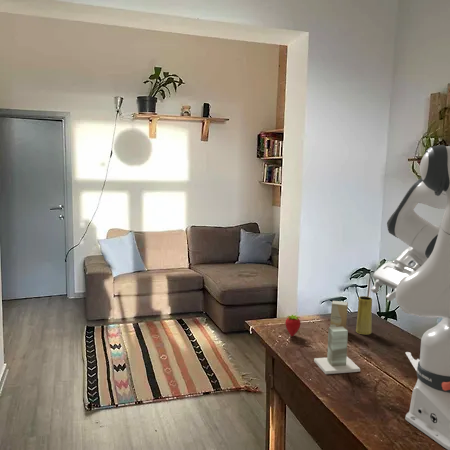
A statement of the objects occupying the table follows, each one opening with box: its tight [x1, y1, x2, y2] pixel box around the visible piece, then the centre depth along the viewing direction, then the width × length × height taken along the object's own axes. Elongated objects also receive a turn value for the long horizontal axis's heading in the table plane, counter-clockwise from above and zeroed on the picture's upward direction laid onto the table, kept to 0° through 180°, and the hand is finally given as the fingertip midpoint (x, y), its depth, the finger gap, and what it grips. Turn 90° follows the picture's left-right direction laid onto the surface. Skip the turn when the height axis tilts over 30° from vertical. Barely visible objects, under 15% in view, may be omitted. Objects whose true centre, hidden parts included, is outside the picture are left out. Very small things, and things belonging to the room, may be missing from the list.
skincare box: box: [329, 300, 349, 330], centre depth 183 cm, size 6×4×12 cm
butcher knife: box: [405, 351, 420, 372], centre depth 156 cm, size 5×15×1 cm, turn 171°
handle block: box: [326, 326, 349, 366], centre depth 151 cm, size 4×5×12 cm
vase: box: [355, 295, 373, 336], centre depth 183 cm, size 6×6×14 cm
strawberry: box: [285, 313, 302, 338], centre depth 178 cm, size 6×8×10 cm
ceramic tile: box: [313, 356, 361, 375], centre depth 152 cm, size 10×12×1 cm
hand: (380, 295), depth 151 cm, fingers open, 8 cm apart
